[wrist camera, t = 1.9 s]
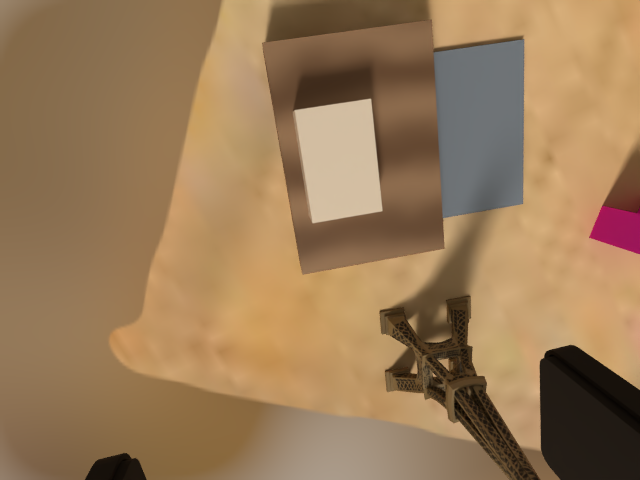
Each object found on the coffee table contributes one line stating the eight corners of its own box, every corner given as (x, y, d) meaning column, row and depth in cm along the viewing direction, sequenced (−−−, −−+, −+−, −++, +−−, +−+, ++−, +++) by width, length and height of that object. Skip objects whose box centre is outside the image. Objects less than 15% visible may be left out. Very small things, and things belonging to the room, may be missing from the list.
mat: (421, 54, 36) (422, 54, 35) (521, 40, 36) (524, 39, 36) (431, 218, 40) (433, 219, 40) (520, 203, 41) (522, 203, 41)
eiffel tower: (470, 374, 46) (680, 630, 23) (386, 390, 46) (512, 673, 22) (469, 295, 43) (709, 495, 20) (379, 311, 43) (516, 540, 19)
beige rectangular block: (292, 112, 32) (294, 110, 29) (362, 101, 32) (370, 98, 29) (309, 215, 34) (312, 223, 32) (373, 204, 35) (382, 211, 32)
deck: (263, 52, 34) (262, 42, 30) (414, 31, 35) (431, 19, 31) (299, 260, 40) (302, 274, 36) (428, 237, 41) (444, 248, 37)
